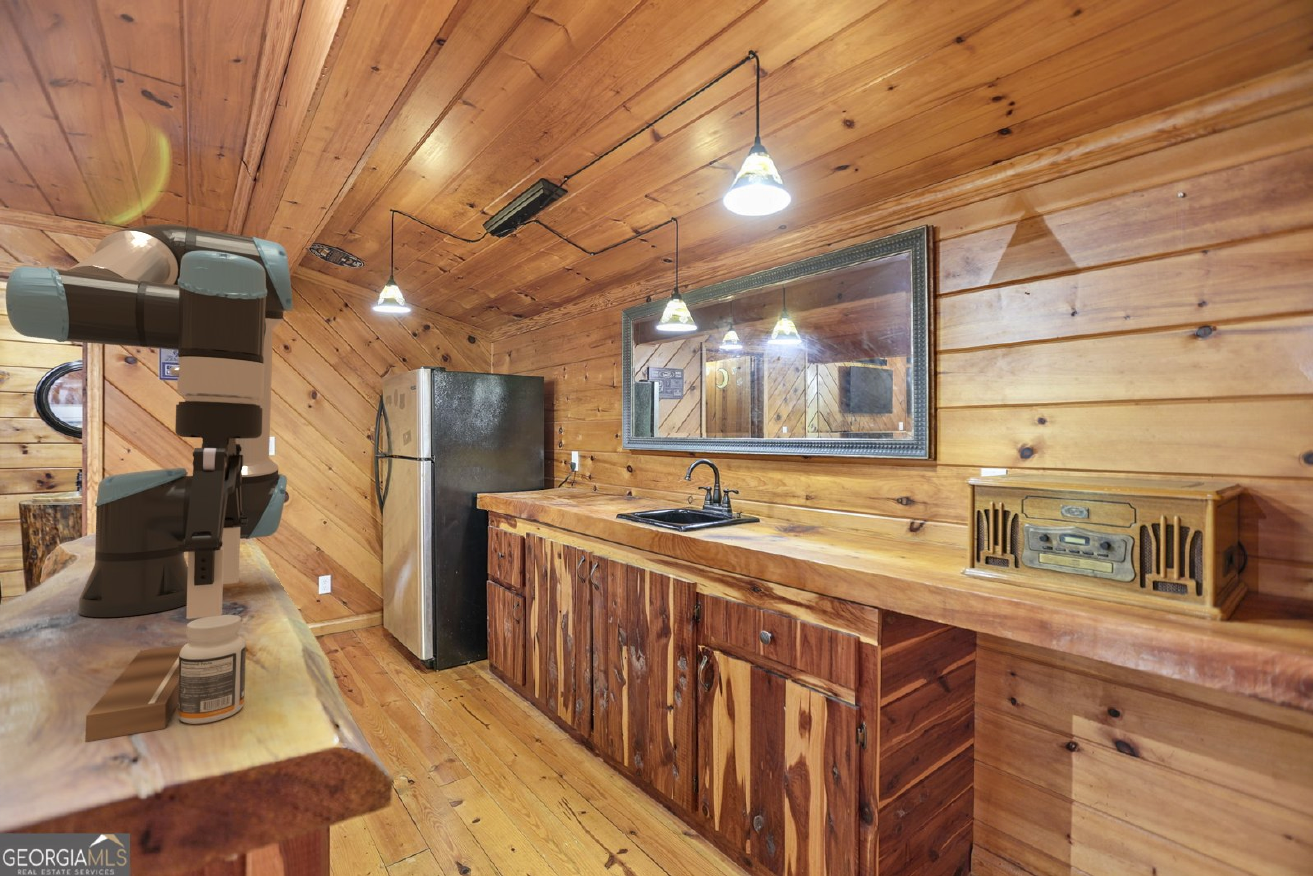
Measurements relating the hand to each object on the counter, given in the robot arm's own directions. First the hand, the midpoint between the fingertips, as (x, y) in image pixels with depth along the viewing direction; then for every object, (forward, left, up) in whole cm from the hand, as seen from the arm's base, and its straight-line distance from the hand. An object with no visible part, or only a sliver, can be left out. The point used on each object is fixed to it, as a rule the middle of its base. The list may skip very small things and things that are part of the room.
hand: (215, 598), depth 65 cm
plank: (-8, -7, -12) cm, 16 cm away
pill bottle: (0, 0, -12) cm, 12 cm away
